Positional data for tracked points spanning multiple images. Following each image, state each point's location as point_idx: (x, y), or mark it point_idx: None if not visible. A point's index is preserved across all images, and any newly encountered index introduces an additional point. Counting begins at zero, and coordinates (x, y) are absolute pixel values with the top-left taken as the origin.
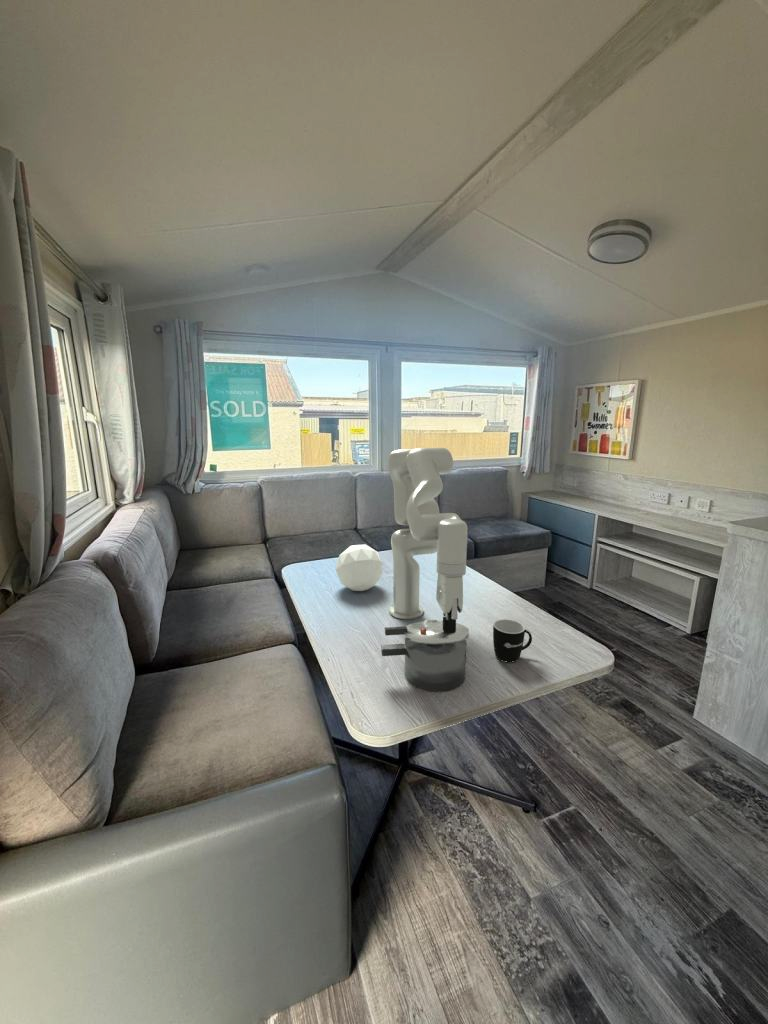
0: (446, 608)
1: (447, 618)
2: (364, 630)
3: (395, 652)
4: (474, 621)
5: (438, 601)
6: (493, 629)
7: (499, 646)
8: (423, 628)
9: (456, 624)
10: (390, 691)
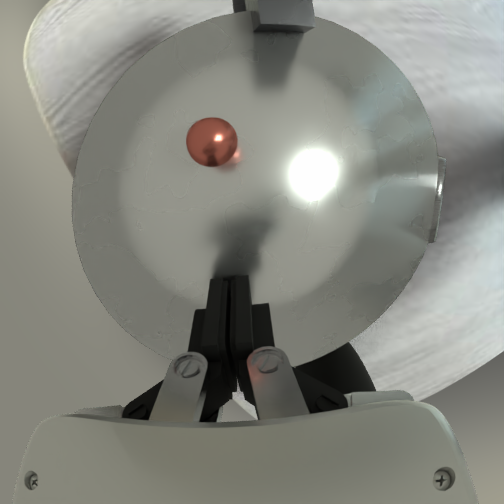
0: (23, 461)
1: (169, 376)
2: (480, 23)
3: (233, 8)
4: (464, 305)
5: (287, 456)
6: (351, 383)
7: (313, 365)
8: (229, 144)
9: (355, 324)
10: (167, 30)
